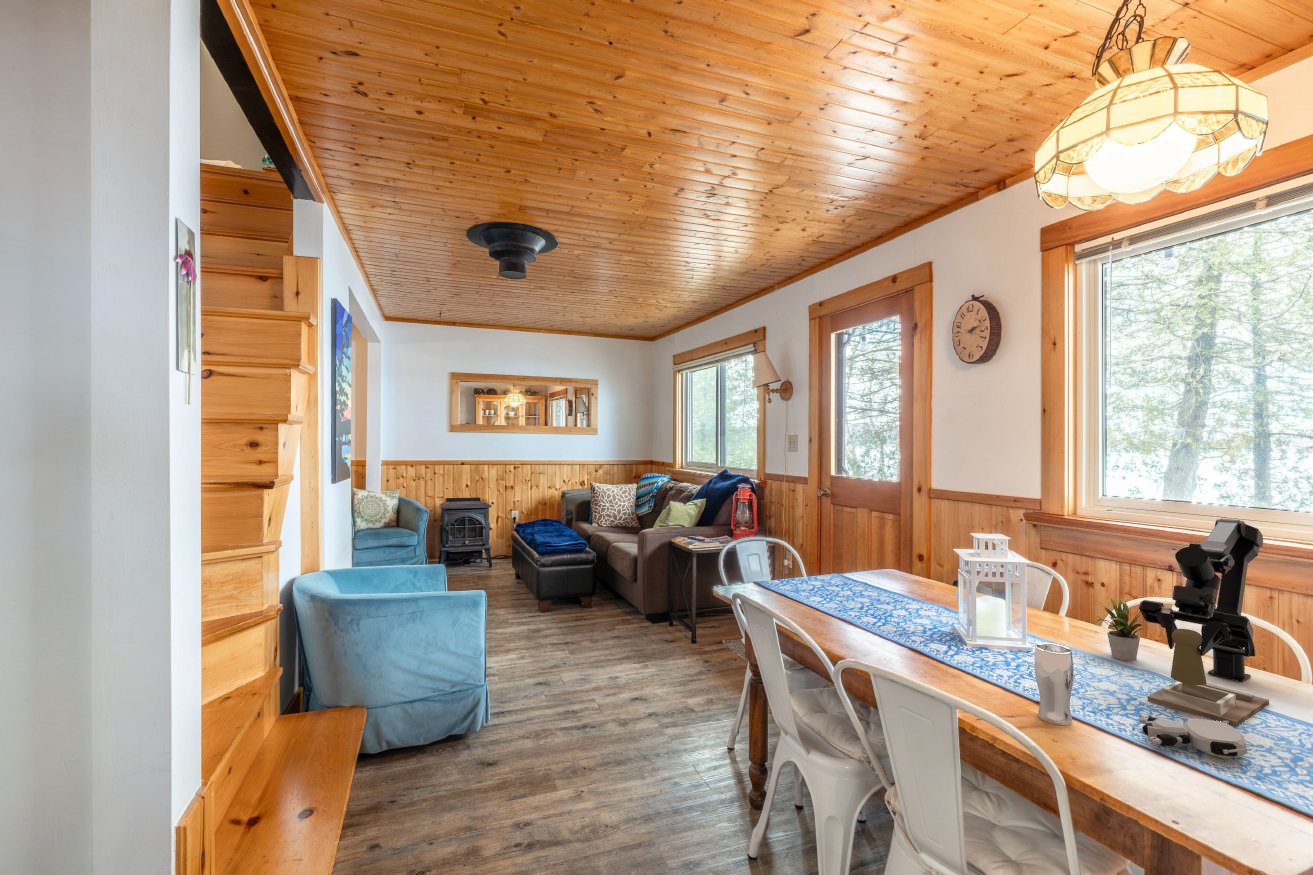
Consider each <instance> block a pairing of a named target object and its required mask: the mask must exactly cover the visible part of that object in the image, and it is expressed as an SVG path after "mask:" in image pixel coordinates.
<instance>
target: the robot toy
mask: <svg viewBox="0 0 1313 875" xmlns="http://www.w3.org/2000/svg"><path fill="white" fill-rule="evenodd" d="M1138 722H1139V723H1141V724H1144V725H1143V726H1142V732H1143V733H1144V734H1145V735H1147V736H1148V738H1149V739H1148V740H1149V742H1151V743H1152V744H1155V745H1160V746H1161V747H1171V748H1175V747H1187V746H1189V745H1190V744H1191V745H1192V746H1194V747H1195V748H1196V749H1198V750H1199V751H1201V752H1203V753H1205V754H1208V755H1211V756H1214V757H1215V758H1217V757H1218V758H1217V759H1220V758H1221V759H1220V760H1230V759H1232V758H1234V759H1235V758H1236V759H1238V758H1242V757H1244V756H1245V755H1247V753H1248V752H1251V751H1253V750H1254V749H1253V748H1251V747H1247V741H1246V738H1245V735H1244V734H1242V733H1241V732H1240V731H1239V730H1237V729H1236V728H1235V727H1234V726H1233V725H1229V724H1226V723H1228V721H1222V722H1220V721H1215V720H1212V719H1203V718H1202V719H1201V718H1191V719H1188V720H1186V721H1185V722H1184V724H1183V723H1182V722H1180V721H1179V720H1174V719H1173V720H1172V719H1167V718H1166V719H1164V718H1157V717H1153V716H1148V717H1144V716H1141V717H1139V718H1138Z"/></svg>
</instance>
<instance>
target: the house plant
mask: <svg viewBox="0 0 1313 875" xmlns="http://www.w3.org/2000/svg"><path fill="white" fill-rule="evenodd" d="M1107 597H1108V598H1109V599H1110V602H1111V604H1112V607H1113V609H1114V612H1115V613H1114V612H1113V611H1112V610H1110V609H1109V608H1108V607H1106V606H1104V605H1103V603H1101V602H1100V601H1097V600H1095V599H1093V601H1095V602H1098V604H1099V603H1100V604H1101V606H1103V609H1101V610H1104V611H1106V612H1107V613H1108V614H1109V615H1110V616H1109V618H1110V620H1112V621H1113V622H1114V623H1113V622H1111V621H1109V620H1106V619H1104V618H1103V619H1102V618H1101V617H1100V616H1098V615H1095V614H1093V616H1096V617H1097V618H1099V619H1097V620H1096V621H1095V622H1094V623H1098V622H1102V621H1103V622H1104V623H1105V624H1106V625H1108V626H1109V628H1108V629H1109V630H1108V631H1107V632H1106V634H1107V638H1108V643H1109V648H1110V651H1111V652H1110V653H1111V656H1112V657H1113V658H1114V659H1117V660H1120V661H1126V662H1135V661H1137V656H1138V652H1139V651H1138V650H1139V646H1140V640H1141V636H1140V635H1139V634H1136V633H1137V632H1139V631H1141V630H1143V628H1139V627H1141V626H1143V624H1141V623H1138V622H1139V621H1142V619H1138V618H1140V616H1143V615H1142V613H1141V611H1140V610H1139V612H1138V613H1137V614H1136V615H1135V616H1134V617H1133V618H1132V619H1131V622H1130V623H1128V622H1129V620H1130V618H1129V615H1130V614H1129V613H1130V611H1129V606H1128V604H1127V602H1128V600H1126V601H1124V600H1122V598H1120V599H1119V600H1118V604H1117V603H1116V601H1115V600H1114V599H1113V598H1112V597H1111V596H1107ZM1089 600H1091V601H1092V599H1090V598H1089ZM1095 602H1094V604H1096V605H1097V603H1095ZM1144 621H1145V619H1143V622H1144ZM1145 622H1146V621H1145ZM1108 623H1110V624H1108ZM1114 628H1115V629H1114ZM1137 628H1139V629H1137ZM1110 629H1112V630H1110ZM1147 630H1148V631H1150V629H1149V628H1147Z"/></svg>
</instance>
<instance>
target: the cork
mask: <svg viewBox="0 0 1313 875" xmlns="http://www.w3.org/2000/svg"><path fill="white" fill-rule="evenodd" d="M1172 639H1173V641H1174V642H1175V644H1174V648H1173V650H1174V651H1173V656H1172V657H1173V659H1172V663H1171V669H1170V670H1171V671H1170V676H1169V677H1170V678H1171V679H1172V680H1174V681H1175V682H1176V681H1178V682H1181V683H1185V684H1191V685H1206V684H1207V683H1208V682H1207V679H1206V678H1207V676H1206V672H1205V669H1204V668H1205V665H1204V663H1203V662H1204V660H1203V656H1201V655H1200V648H1201V645H1202V642H1203V638H1202V635H1201V632H1198V631H1195V630H1193V629H1188V628H1177V629H1176V630H1174V631H1173V632H1172Z"/></svg>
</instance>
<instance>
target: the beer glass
mask: <svg viewBox="0 0 1313 875" xmlns="http://www.w3.org/2000/svg"><path fill="white" fill-rule="evenodd" d="M1034 647H1035V650H1034V675H1035V680H1036V684H1037V685H1036V686H1037V688H1038V692H1039V707H1038V713H1037V717H1038V718H1039V719H1040V720H1042V721H1044V722H1045V723H1048V724H1051V725H1057V726H1069V725H1072V724H1073V717H1072V712H1071V697H1072V691H1073V686H1074V678H1075V674H1074V673H1075V672H1074V671H1075V669H1074V658H1073V650H1072V649H1071V648H1069V647H1068V646H1066V645H1065V646H1064V645H1061V644H1056V643H1049V642H1041V643H1037V644H1035V646H1034Z"/></svg>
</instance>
